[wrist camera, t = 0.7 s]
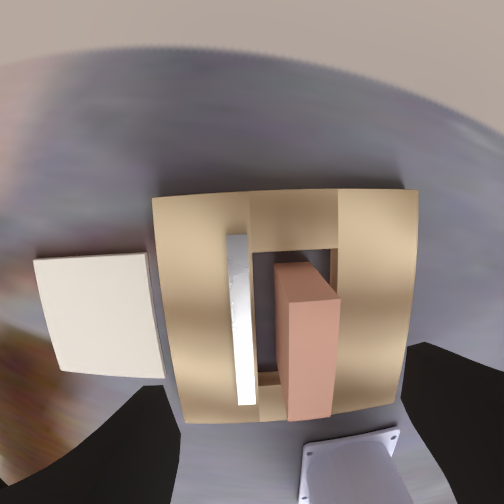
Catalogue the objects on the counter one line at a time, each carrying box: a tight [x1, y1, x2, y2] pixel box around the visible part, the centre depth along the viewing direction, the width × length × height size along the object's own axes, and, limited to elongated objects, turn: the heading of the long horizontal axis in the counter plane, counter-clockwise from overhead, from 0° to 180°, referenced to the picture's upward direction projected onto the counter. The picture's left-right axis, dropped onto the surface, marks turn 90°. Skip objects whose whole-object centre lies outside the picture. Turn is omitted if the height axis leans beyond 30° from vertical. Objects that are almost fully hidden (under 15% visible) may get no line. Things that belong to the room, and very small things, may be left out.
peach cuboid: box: [274, 261, 341, 422], centre depth 15 cm, size 6×2×6 cm, turn 3°
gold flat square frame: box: [152, 188, 418, 423], centre depth 17 cm, size 14×14×2 cm
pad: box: [33, 252, 166, 378], centre depth 18 cm, size 8×8×1 cm
